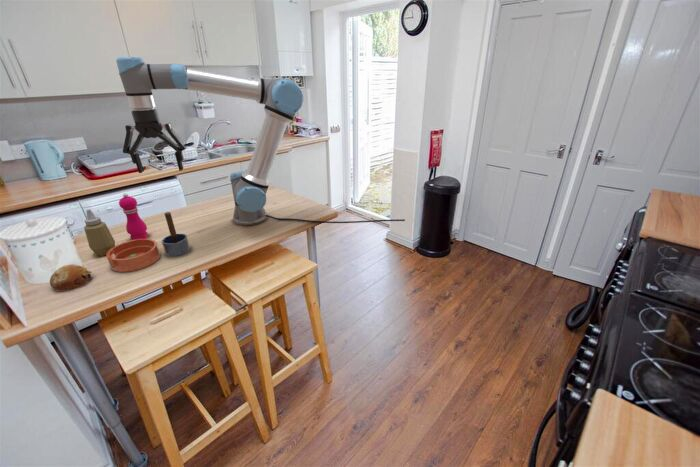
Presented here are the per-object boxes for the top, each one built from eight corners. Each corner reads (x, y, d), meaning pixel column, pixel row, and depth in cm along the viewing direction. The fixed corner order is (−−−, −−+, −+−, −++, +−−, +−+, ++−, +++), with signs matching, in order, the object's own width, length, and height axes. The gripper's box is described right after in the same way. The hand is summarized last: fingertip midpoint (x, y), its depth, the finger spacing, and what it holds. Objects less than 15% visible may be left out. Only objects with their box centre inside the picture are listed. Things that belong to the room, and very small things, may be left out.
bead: (136, 258, 118) (140, 253, 118) (135, 264, 117) (140, 259, 116) (127, 256, 116) (131, 251, 115) (126, 262, 114) (131, 257, 114)
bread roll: (77, 282, 112) (59, 266, 108) (101, 271, 110) (82, 253, 107) (57, 300, 103) (35, 283, 99) (82, 288, 102) (61, 270, 98)
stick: (181, 249, 125) (171, 211, 118) (179, 251, 123) (168, 214, 116) (176, 249, 125) (165, 212, 118) (174, 251, 123) (163, 214, 116)
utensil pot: (193, 245, 128) (189, 232, 126) (186, 257, 121) (182, 243, 118) (170, 247, 127) (166, 234, 124) (162, 258, 119) (158, 244, 117)
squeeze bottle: (99, 259, 119) (80, 216, 110) (89, 254, 123) (70, 211, 114) (122, 250, 125) (106, 208, 117) (112, 245, 129) (95, 204, 120)
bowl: (166, 249, 126) (163, 237, 123) (150, 271, 112) (146, 258, 109) (124, 252, 124) (119, 240, 121) (102, 275, 110) (97, 261, 107)
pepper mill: (140, 242, 131) (125, 197, 122) (125, 241, 132) (109, 195, 123) (153, 234, 137) (139, 191, 128) (139, 233, 138) (124, 189, 129)
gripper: (186, 106, 112) (199, 166, 122) (108, 109, 108) (128, 170, 118) (180, 109, 105) (195, 171, 115) (96, 111, 101) (119, 176, 111)
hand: (161, 171), depth 116 cm, fingers open, 13 cm apart
